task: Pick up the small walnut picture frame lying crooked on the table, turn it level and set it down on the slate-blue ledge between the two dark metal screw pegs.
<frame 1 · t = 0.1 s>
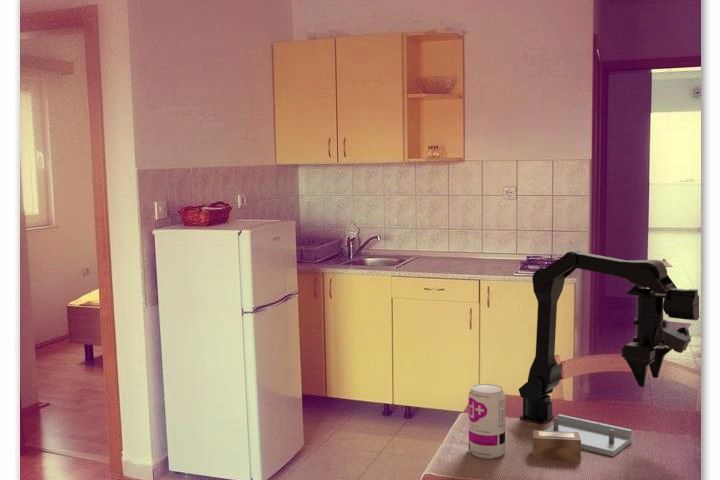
hand: (648, 382, 163), 15 cm above the table, tool pointing down, fingers open, 9 cm apart
ledge: (583, 440, 167), on the table
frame: (556, 456, 158), on the table
supplement can: (486, 453, 161), on the table
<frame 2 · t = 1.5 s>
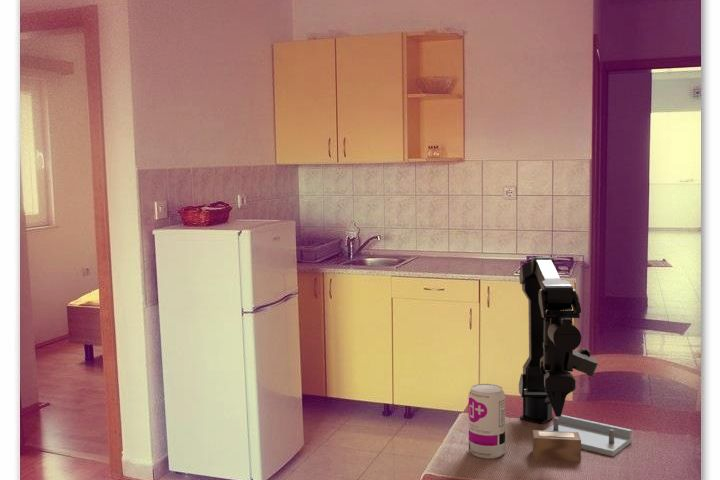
hand: (556, 409, 157), 11 cm above the table, tool pointing down, fingers open, 9 cm apart
nothing on the table moved.
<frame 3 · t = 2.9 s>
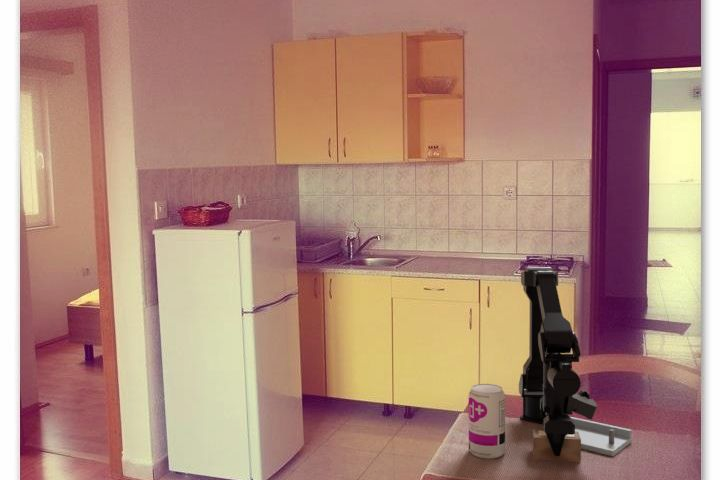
hand: (556, 451, 158), 1 cm above the table, tool pointing down, fingers closed on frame, 5 cm apart
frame: (556, 456, 158), on the table, touching gripper
everything else where it was.
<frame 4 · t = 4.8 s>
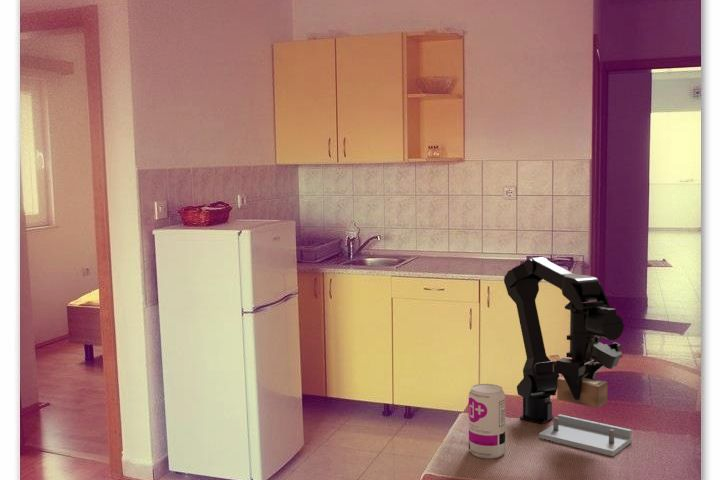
hand: (581, 396, 165), 11 cm above the table, tool pointing down, fingers closed on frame, 5 cm apart
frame: (582, 401, 166), point 10 cm above the table, touching gripper
everything else where it was.
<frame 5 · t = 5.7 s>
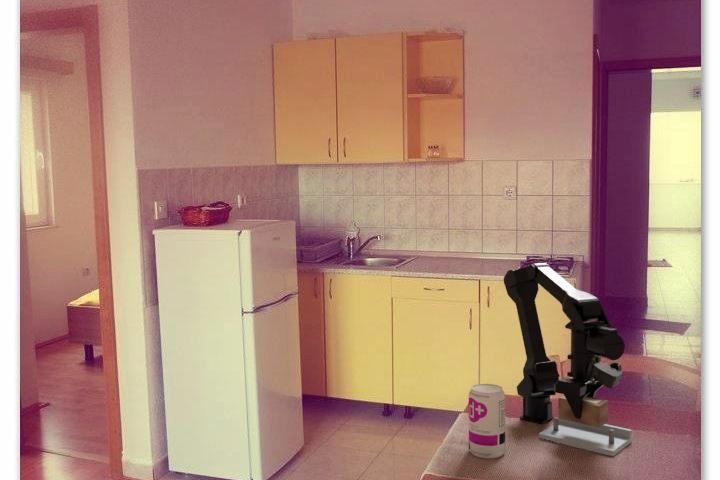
hand: (582, 415, 166), 6 cm above the table, tool pointing down, fingers closed on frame, 5 cm apart
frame: (582, 419, 166), point 5 cm above the table, touching gripper
everything else where it was.
when the fingers open (4 cm above the table, at t = 6.6 s): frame drops 1 cm, resting on ledge.
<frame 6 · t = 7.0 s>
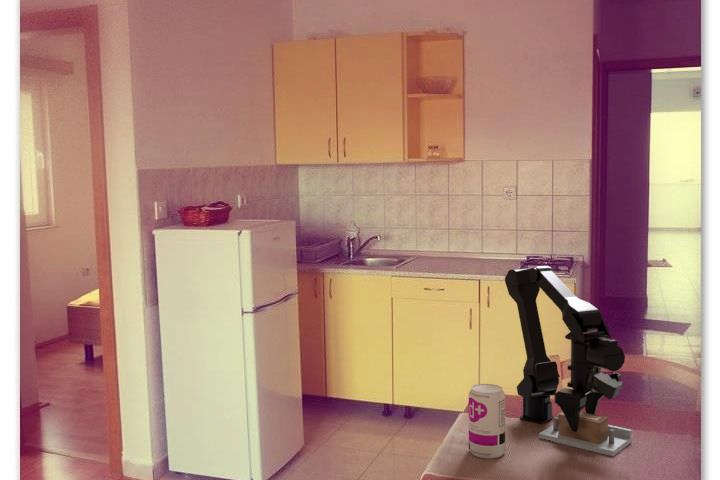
hand: (582, 426, 166), 4 cm above the table, tool pointing down, fingers open, 9 cm apart
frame: (583, 436, 167), point 1 cm above the table, touching ledge
everything else where it was.
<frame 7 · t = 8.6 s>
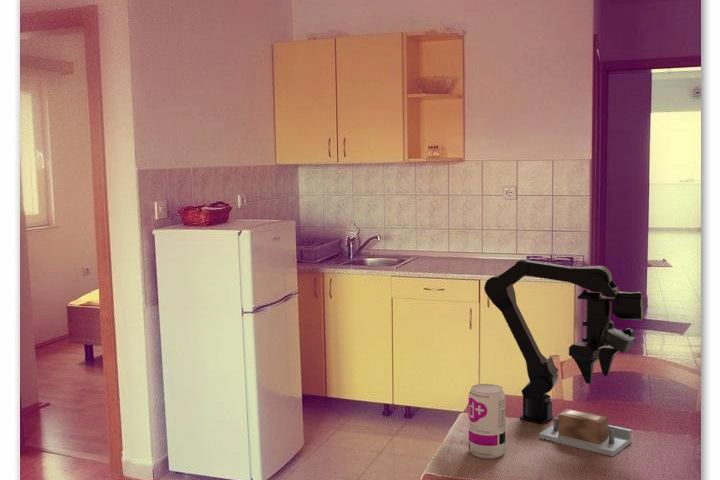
hand: (597, 379, 175), 12 cm above the table, tool pointing down, fingers open, 9 cm apart
nothing on the table moved.
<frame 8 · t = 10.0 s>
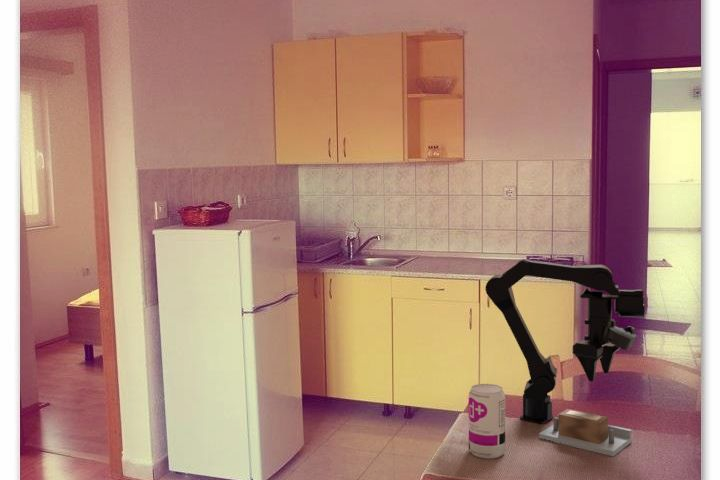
hand: (598, 377, 177), 12 cm above the table, tool pointing down, fingers open, 9 cm apart
nothing on the table moved.
at the end: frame 0.1 cm off-centre on the ledge, point 1.2 cm above the ledge's base; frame tilted 0°; the gripper is holding nothing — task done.
